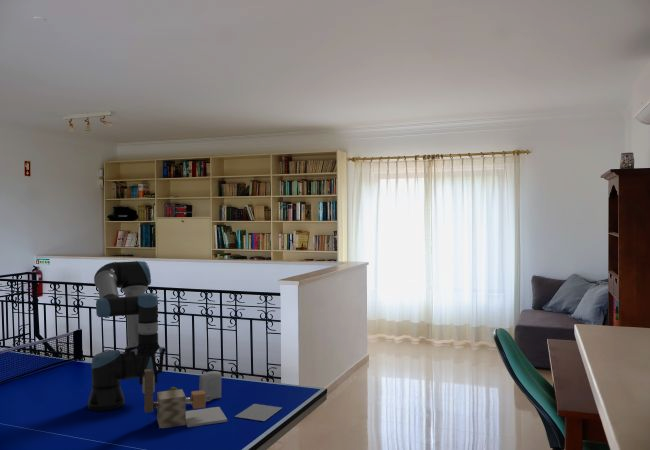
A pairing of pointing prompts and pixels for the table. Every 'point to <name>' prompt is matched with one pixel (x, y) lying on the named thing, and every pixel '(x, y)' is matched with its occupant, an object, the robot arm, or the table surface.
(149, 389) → the handled brown block
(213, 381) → the photo printer
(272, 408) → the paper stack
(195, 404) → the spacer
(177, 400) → the bearing block
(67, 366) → the table surface
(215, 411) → the mat
